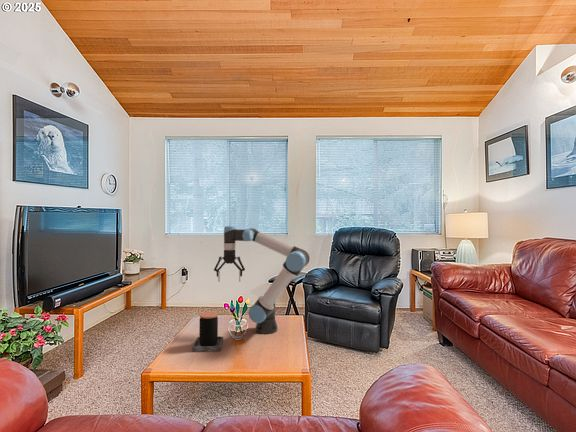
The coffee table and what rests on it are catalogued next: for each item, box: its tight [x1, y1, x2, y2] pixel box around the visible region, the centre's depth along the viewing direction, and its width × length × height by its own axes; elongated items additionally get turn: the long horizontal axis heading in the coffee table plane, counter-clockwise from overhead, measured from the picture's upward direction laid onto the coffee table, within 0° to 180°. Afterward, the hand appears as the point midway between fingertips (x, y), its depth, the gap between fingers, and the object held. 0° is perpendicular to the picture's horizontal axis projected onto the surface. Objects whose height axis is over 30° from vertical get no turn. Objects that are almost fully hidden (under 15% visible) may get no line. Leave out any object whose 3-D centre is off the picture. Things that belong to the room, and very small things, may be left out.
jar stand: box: [191, 336, 224, 353], centre depth 202 cm, size 16×16×3 cm
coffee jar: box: [198, 311, 219, 346], centre depth 202 cm, size 11×11×18 cm
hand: (229, 281), depth 223 cm, fingers open, 13 cm apart
